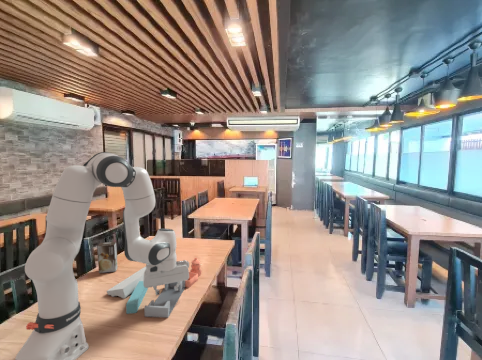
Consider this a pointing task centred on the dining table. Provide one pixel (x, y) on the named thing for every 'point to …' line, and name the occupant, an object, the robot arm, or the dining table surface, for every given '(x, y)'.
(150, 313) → the end cap cradle
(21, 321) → the dining table surface
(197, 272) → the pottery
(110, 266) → the coffee box
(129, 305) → the slat
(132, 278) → the decorative molding
